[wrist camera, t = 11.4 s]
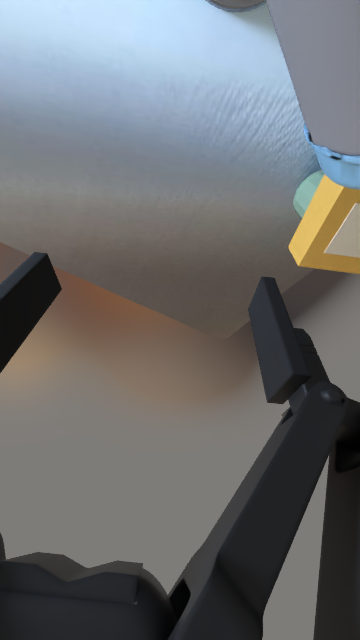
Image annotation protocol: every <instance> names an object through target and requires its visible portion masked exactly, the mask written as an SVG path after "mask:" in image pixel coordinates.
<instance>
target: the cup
mask: <svg viewBox="0 0 360 640" xmlns="http://www.w3.org/2000/svg"><path fill="white" fill-rule="evenodd" d="M323 176H324V172H323V171H322V170H319V171H317V172H315V173H313V174H311V175H310V176H309V177H307V178H306V179H305V180H304V181H303V182H302V183H301V185H300V186H299V188H298V189H297V191H296V193H295V196H294V201H293V205H294V210H295V212H296V213H297V215H298V217H299V218H300V219H301V220H302V218H303V216H304V214H305V212H306V210H307V208H308V206H309V204H310V202H311V200H312V198H313V196H314V194H315V192H316V190H317V188H318V186H319V184H320V182H321V180H322V178H323Z"/></svg>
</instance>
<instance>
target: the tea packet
mask: <svg viewBox="0 0 360 640" xmlns="http://www.w3.org/2000/svg"><path fill="white" fill-rule="evenodd" d="M288 248H289V250H290V252H291V253H292V255H293V257H294V259H295V261H296V262H297V264H298V266H302V267H310V268H318V269H326V270H334V271H341V272H349V273H357V274H360V190H356V189H350V188H346V187H343V186H340V185H338V184H336V183H334V182H332V181H331V180H330V179H329V178H328V177H327V176H326V175H325V174H324V176H323V178H322V180H321V182H320V184H319V186H318V188H317V190H316V192H315V194H314V196H313V198H312V200H311V202H310V204H309V206H308V208H307V210H306V212H305V214H304V216H303V218H302V220H301V222H300V224H299V226H298V228H297V230H296V232H295V234H294V236H293V238H292V240H291V242H290V244H289V246H288Z"/></svg>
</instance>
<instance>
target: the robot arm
mask: <svg viewBox="0 0 360 640" xmlns="http://www.w3.org/2000/svg"><path fill="white" fill-rule="evenodd" d="M206 1H207V2H209V3H210V4H211V5H213V6H215V7H217V8H219V9H222V10H225V11H229V12H244V11H249V10H252V9H255V8H257V7H259V6H261V5H263V4H265V3H267V5H268V8H269V11H270V14H271V17H272V20H273V24H274V27H275V30H276V33H277V36H278V39H279V42H280V45H281V49H282V52H283V55H284V58H285V61H286V64H287V67H288V71H289V74H290V77H291V80H292V83H293V86H294V89H295V92H296V96H297V99H298V102H299V105H300V108H301V111H302V114H303V118H304V121H305V124H304V132H305V136H306V139H307V141H308V143H309V144H310V145H311V146H312V148H313V149H314V151H315V153H316V156H317V158H318V161H319V164H320V166H321V169H322V171H323V172H324V174H325V175H326V176H327V177H328V178H329V179H330V180H331V181H332V182H334V183H336V184H338V185H340V186H343V187H346V188H350V189H356V190H360V0H206ZM61 289H62V288H61V286H60V284H59V281H58V279H57V276H56V274H55V271H54V269H53V266H52V264H51V261H50V259H49V257H48V254H47V253H38V252H34V253H33V254H32V255H31V256H30V257H29V258H28V259H27V260H26V261H25V262H23V263H22V264H21V265H20V266H19V267H18V268H17V269H16V270H15V271H14V272H13V273H12V274H11V275H9V276H8V277H7V278H6V279H5V280H4V281H3V282H2V283H1V284H0V373H1V372H2V370H3V369H4V368H5V366H6V365H7V363H8V362H9V361H10V359H11V357H13V355H14V354H15V352H16V351H17V350H18V348H19V347H20V346H21V344H22V343H23V342H24V340H25V339H26V337H27V336H28V335H29V333H30V332H31V331H32V329H33V328H34V327H35V325H36V324H37V323H38V321H39V320H40V318H41V317H42V316H43V314H44V313H45V312H46V310H47V309H48V308H49V306H50V305H51V303H52V302H53V301H54V299H55V298H56V296H57V295H58V294H59V292H60V291H61ZM248 311H249V316H250V321H251V326H252V331H253V336H254V341H255V346H256V350H257V355H258V360H259V365H260V370H261V375H262V379H263V385H264V389H265V394H266V399H267V402H268V403H277V404H283V403H284V402H286V401H287V400H289V404H290V408H289V409H287V410H286V411H285V412H284V413H283V414H282V416H283V418H282V419H281V421H280V423H279V424H278V426H277V427H276V429H275V430H274V432H273V434H272V435H271V437H270V439H269V440H268V442H267V443H266V445H265V446H264V448H263V450H262V451H261V453H260V454H259V456H258V458H257V459H256V461H255V462H254V464H253V466H252V467H251V469H250V471H249V472H248V473H247V475H246V477H245V479H244V480H243V481H242V483H241V485H240V486H239V488H238V489H237V491H236V493H235V494H234V496H233V497H232V499H231V501H230V502H229V504H228V505H227V507H226V509H225V510H224V512H223V513H222V515H221V517H220V518H219V520H218V521H217V523H216V525H215V526H214V528H213V529H212V531H211V533H210V534H209V536H208V537H207V539H206V541H205V542H204V543H203V545H202V546H201V548H200V549H199V550H198V551H197V552H196V553H195V554H194V556H193V557H192V558H191V560H190V561H189V563H188V564H187V566H186V567H185V569H184V571H183V572H182V574H181V575H180V577H179V578H178V580H177V582H176V583H175V585H174V586H173V588H172V589H171V591H170V593H169V594H168V595H167V593H166V591H165V590H164V588H163V587H162V585H161V584H160V582H159V581H158V580H157V579H156V578H155V577H154V576H153V575H152V574H151V573H150V572H148V571H147V570H145V569H143V568H142V566H143V563H133V562H124V561H114V562H111V563H107V564H103V565H100V566H96V567H92V568H85V567H84V566H82V565H80V564H78V563H77V562H75V561H73V560H71V559H70V558H68V557H66V556H64V555H60V554H50V553H40V552H37V553H32V554H28V555H24V556H19V557H16V558H11V559H7V560H6V557H5V550H4V543H3V538H2V536H1V534H0V640H262V636H263V614H264V610H265V607H266V604H267V602H268V599H269V597H270V595H271V592H272V590H273V587H274V585H275V582H276V580H277V578H278V575H279V573H280V571H281V568H282V566H283V563H284V561H285V559H286V556H287V554H288V551H289V549H290V547H291V544H292V542H293V539H294V537H295V534H296V532H297V530H298V527H299V525H300V523H301V520H302V518H303V515H304V513H305V511H306V508H307V506H308V503H309V501H310V498H311V496H312V494H313V491H314V489H315V487H316V484H317V482H318V479H319V477H320V475H321V472H322V470H323V467H324V465H325V463H326V460H327V458H328V456H329V466H328V478H327V489H326V500H325V512H324V523H323V535H322V546H321V558H320V570H319V581H318V593H317V604H316V616H315V628H314V639H313V640H360V403H359V402H357V401H354V400H352V399H349V398H347V397H346V395H345V394H344V392H343V391H342V390H341V389H340V388H338V387H337V386H336V385H334V384H332V383H331V382H330V381H329V378H328V376H327V374H326V372H325V369H324V367H323V365H322V362H321V360H320V358H319V356H318V355H317V351H316V349H315V347H314V344H313V342H312V340H311V337H310V336H309V335H308V334H307V333H306V332H305V331H304V330H303V329H298V328H293V325H292V323H291V320H290V318H289V315H288V312H287V310H286V307H285V305H284V302H283V300H282V297H281V294H280V291H279V289H278V286H277V284H276V281H275V278H271V277H261V280H260V282H259V284H258V287H257V289H256V292H255V294H254V296H253V299H252V301H251V303H250V306H249V308H248ZM329 453H330V454H329Z"/></svg>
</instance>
